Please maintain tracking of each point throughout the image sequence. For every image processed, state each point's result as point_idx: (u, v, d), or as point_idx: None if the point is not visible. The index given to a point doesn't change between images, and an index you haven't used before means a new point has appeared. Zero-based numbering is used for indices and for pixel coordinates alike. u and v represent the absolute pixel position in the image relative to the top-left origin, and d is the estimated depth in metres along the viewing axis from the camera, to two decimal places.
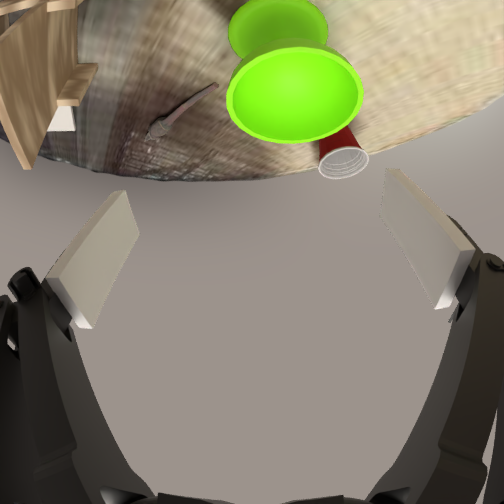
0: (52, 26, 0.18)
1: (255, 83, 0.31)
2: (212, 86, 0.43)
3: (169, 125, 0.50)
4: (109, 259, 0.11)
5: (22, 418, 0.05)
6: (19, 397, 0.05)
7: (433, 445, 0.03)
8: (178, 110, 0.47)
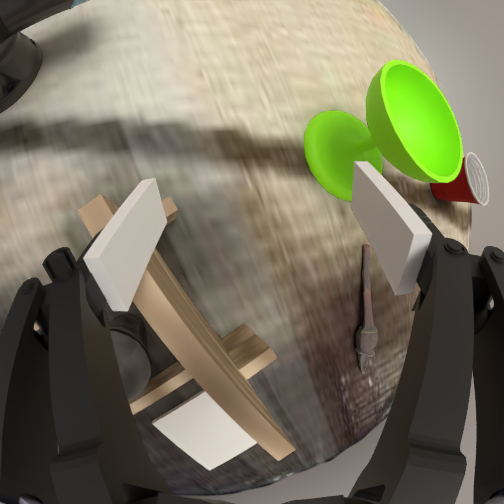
0: (160, 261, 0.26)
1: None
2: (366, 248, 0.42)
3: (373, 325, 0.41)
4: (143, 244, 0.12)
5: (41, 408, 0.05)
6: (40, 386, 0.06)
7: (403, 441, 0.03)
8: (367, 301, 0.41)
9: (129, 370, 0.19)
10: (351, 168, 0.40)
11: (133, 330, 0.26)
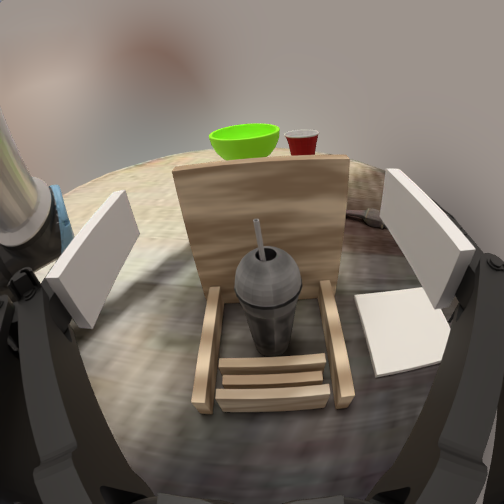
0: None
1: None
2: None
3: (365, 210, 0.57)
4: (109, 259, 0.11)
5: (23, 418, 0.05)
6: (19, 397, 0.05)
7: (433, 446, 0.03)
8: None
9: None
10: None
11: None
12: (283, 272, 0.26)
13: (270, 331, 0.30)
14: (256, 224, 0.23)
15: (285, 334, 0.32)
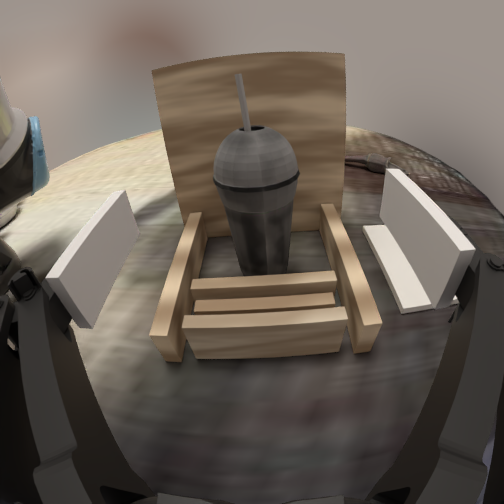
0: None
1: None
2: None
3: (366, 156, 0.50)
4: (110, 259, 0.11)
5: (22, 417, 0.05)
6: (19, 397, 0.05)
7: (433, 446, 0.03)
8: (345, 156, 0.52)
9: None
10: None
11: None
12: (273, 143, 0.19)
13: (260, 239, 0.23)
14: (238, 78, 0.17)
15: (280, 249, 0.25)
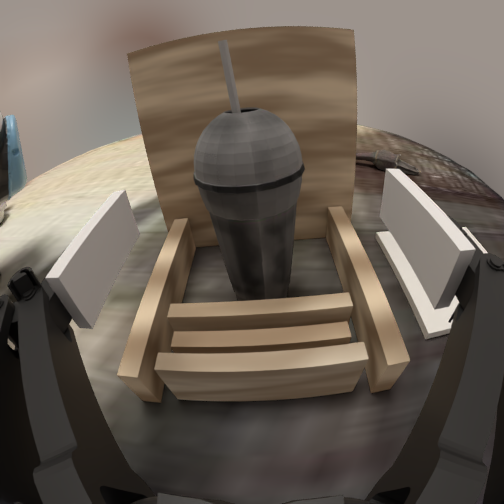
0: None
1: None
2: None
3: None
4: (110, 259, 0.11)
5: (22, 417, 0.05)
6: (19, 397, 0.05)
7: (433, 446, 0.03)
8: None
9: None
10: None
11: None
12: (270, 128, 0.14)
13: (254, 253, 0.18)
14: (222, 44, 0.12)
15: (281, 265, 0.20)
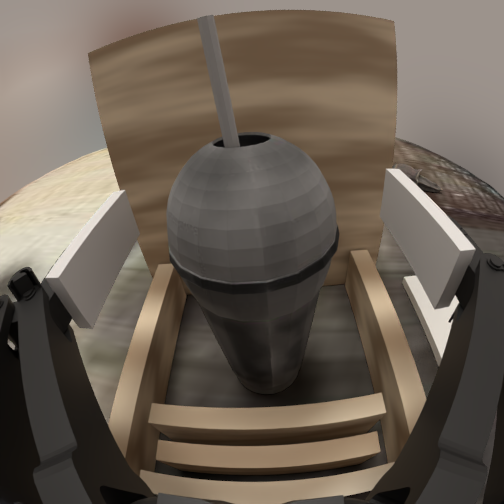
0: None
1: None
2: None
3: None
4: (109, 259, 0.11)
5: (22, 417, 0.05)
6: (19, 397, 0.05)
7: (433, 446, 0.03)
8: None
9: None
10: None
11: None
12: (292, 177, 0.08)
13: (261, 351, 0.12)
14: (205, 23, 0.06)
15: (295, 354, 0.14)
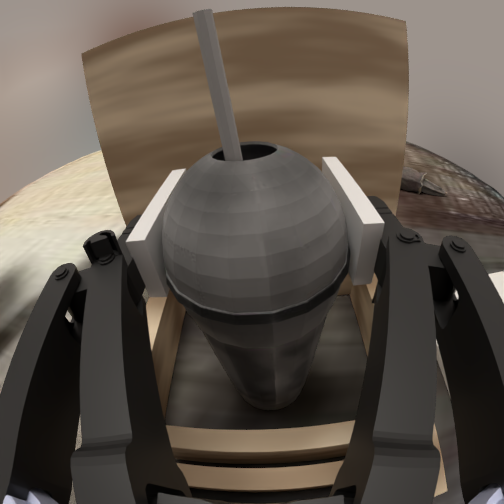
0: None
1: None
2: None
3: None
4: None
5: (64, 401, 0.06)
6: (65, 379, 0.06)
7: (370, 440, 0.04)
8: None
9: None
10: None
11: None
12: (302, 196, 0.08)
13: (264, 373, 0.11)
14: (202, 18, 0.05)
15: (300, 374, 0.13)
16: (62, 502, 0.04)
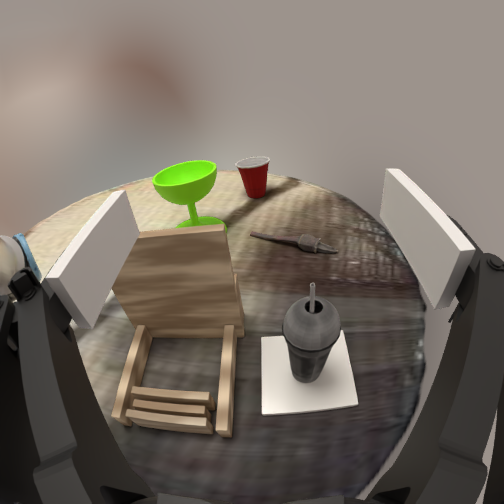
0: None
1: None
2: (252, 233, 0.71)
3: (299, 236, 0.65)
4: (109, 259, 0.11)
5: (22, 417, 0.05)
6: (19, 397, 0.05)
7: (433, 446, 0.03)
8: (281, 237, 0.66)
9: None
10: None
11: None
12: (329, 322, 0.29)
13: (311, 365, 0.33)
14: (312, 288, 0.27)
15: (322, 366, 0.35)
16: None
